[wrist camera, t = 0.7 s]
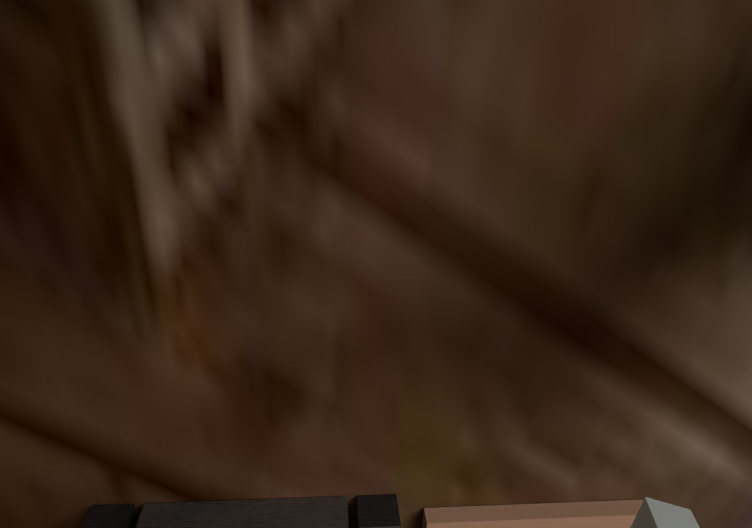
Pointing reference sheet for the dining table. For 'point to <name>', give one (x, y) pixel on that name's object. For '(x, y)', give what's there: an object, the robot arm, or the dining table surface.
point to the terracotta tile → (536, 515)
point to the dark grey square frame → (251, 514)
